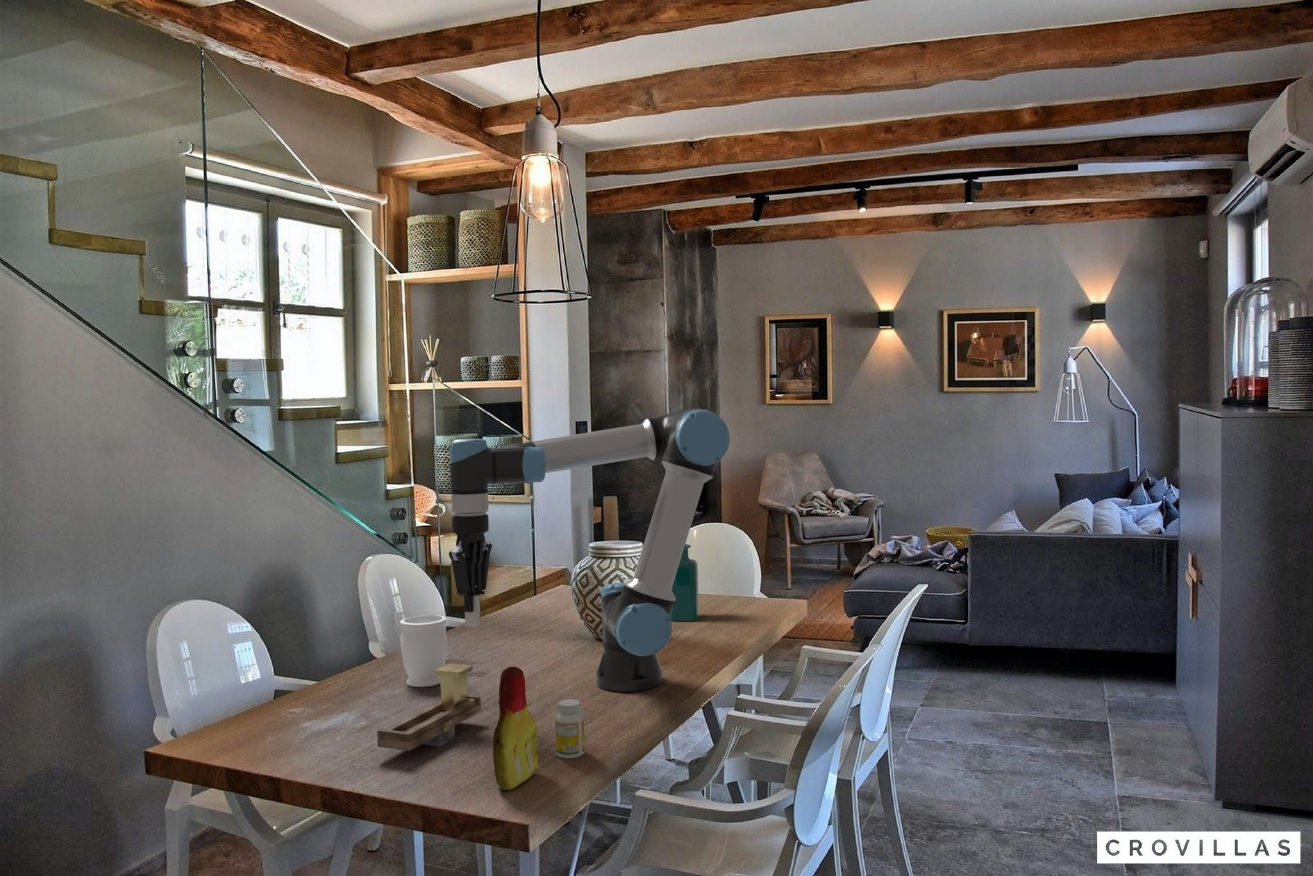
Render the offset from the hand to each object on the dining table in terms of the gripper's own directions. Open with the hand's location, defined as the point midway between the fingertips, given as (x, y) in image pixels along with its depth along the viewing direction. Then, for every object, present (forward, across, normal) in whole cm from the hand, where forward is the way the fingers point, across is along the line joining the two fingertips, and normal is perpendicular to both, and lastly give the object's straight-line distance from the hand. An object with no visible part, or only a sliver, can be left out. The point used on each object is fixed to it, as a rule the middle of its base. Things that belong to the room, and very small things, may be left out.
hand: (472, 626), depth 207 cm
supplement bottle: (+19, +14, +29) cm, 37 cm away
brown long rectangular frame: (+19, +16, 0) cm, 25 cm away
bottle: (+19, +29, +26) cm, 43 cm away
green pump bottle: (+18, -95, +10) cm, 98 cm away
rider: (+15, +8, 0) cm, 17 cm away
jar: (+19, -17, -25) cm, 36 cm away
